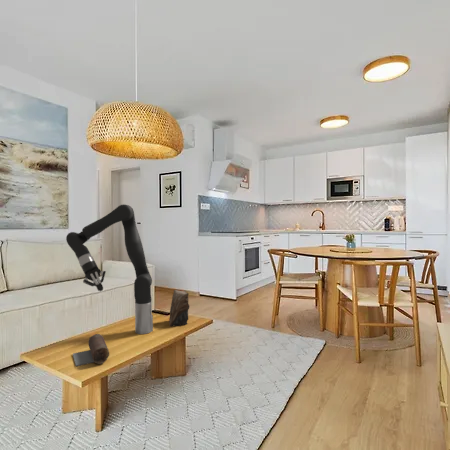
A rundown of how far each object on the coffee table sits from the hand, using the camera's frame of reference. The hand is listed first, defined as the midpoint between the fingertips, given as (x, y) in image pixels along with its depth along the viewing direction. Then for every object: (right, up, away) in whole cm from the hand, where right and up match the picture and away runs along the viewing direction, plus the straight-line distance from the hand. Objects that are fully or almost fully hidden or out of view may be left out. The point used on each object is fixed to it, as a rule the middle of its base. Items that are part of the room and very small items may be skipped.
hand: (101, 290), depth 169 cm
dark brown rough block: (+37, -26, +25) cm, 52 cm away
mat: (+3, -27, -24) cm, 36 cm away
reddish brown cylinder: (+3, -22, -14) cm, 26 cm away
